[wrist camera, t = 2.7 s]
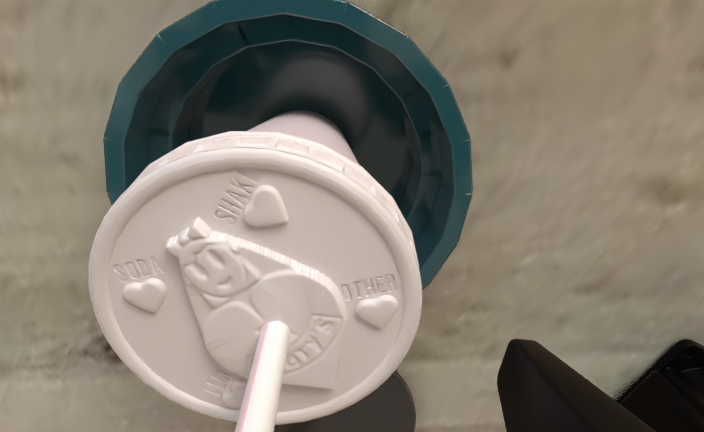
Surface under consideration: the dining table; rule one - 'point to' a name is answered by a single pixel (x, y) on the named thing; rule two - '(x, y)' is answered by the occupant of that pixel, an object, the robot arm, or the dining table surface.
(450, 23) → the dining table surface
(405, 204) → the teal faceted dish
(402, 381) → the coaster
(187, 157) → the smoothie
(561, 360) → the robot arm
